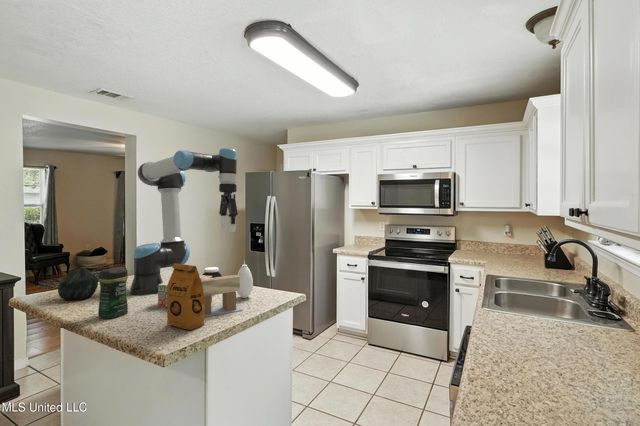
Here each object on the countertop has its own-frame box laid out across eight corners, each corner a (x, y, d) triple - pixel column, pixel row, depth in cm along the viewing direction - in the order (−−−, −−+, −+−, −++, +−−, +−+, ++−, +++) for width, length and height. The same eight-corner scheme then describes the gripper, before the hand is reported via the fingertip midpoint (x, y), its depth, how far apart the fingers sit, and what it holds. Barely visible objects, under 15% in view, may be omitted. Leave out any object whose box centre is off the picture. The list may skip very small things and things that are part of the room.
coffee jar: (110, 320, 124) (110, 270, 123) (94, 318, 126) (93, 269, 126) (132, 312, 133) (131, 266, 132) (116, 310, 135) (116, 265, 135)
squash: (58, 284, 156) (58, 263, 148) (96, 281, 165) (99, 261, 157) (57, 310, 148) (57, 289, 140) (97, 305, 157) (100, 286, 149)
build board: (191, 311, 135) (191, 293, 135) (235, 304, 145) (235, 287, 145) (196, 318, 127) (196, 299, 127) (242, 310, 136) (242, 292, 136)
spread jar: (217, 288, 173) (217, 266, 172) (228, 292, 165) (228, 269, 164) (194, 292, 164) (194, 269, 164) (205, 297, 156) (205, 272, 156)
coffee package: (186, 333, 112) (186, 268, 111) (162, 326, 118) (162, 264, 117) (209, 324, 120) (209, 263, 120) (186, 318, 126) (186, 260, 126)
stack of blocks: (157, 306, 141) (157, 277, 141) (164, 302, 147) (164, 274, 147) (207, 307, 141) (207, 278, 141) (212, 302, 147) (212, 275, 147)
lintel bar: (193, 295, 131) (193, 280, 131) (235, 288, 143) (235, 274, 143) (196, 297, 128) (196, 282, 128) (239, 290, 140) (239, 276, 140)
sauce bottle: (254, 298, 154) (254, 260, 153) (237, 300, 150) (237, 261, 150) (250, 294, 161) (250, 257, 160) (234, 296, 157) (234, 258, 157)
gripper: (212, 184, 158) (212, 229, 159) (227, 181, 137) (227, 232, 137) (228, 185, 162) (228, 228, 163) (245, 182, 141) (245, 232, 141)
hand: (227, 230), depth 150 cm, fingers open, 13 cm apart
